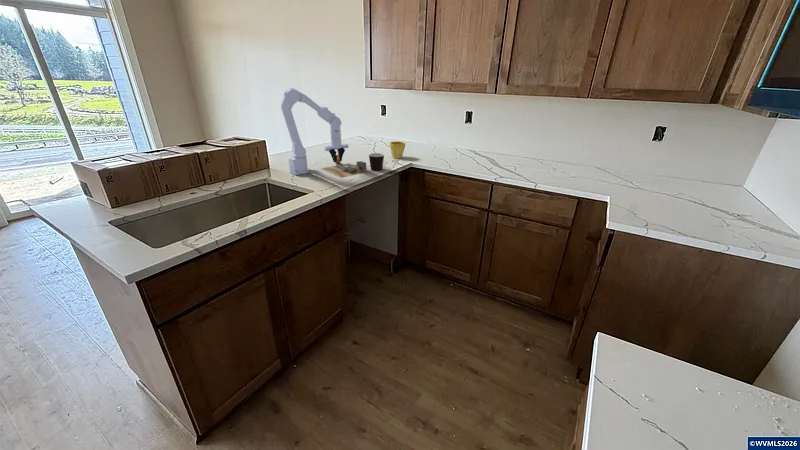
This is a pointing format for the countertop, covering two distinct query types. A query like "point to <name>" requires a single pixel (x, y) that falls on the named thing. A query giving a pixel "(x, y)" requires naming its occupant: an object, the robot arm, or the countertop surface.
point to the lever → (345, 167)
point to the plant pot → (397, 149)
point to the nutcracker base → (343, 173)
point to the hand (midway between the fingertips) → (337, 161)
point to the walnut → (356, 167)
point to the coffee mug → (376, 161)
